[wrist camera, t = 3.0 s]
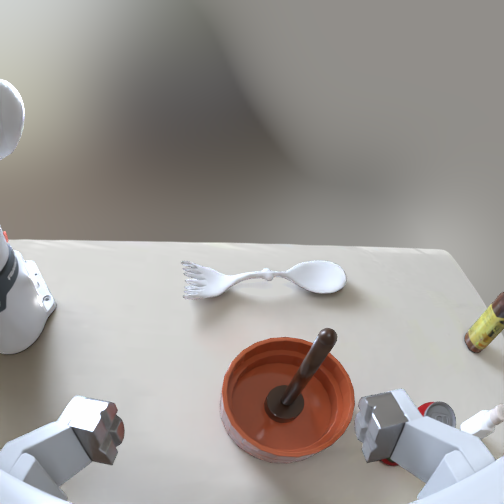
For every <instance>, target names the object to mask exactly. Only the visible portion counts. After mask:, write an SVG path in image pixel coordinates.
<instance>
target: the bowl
mask: <svg viewBox="0 0 504 504" xmlns="http://www.w3.org/2000/svg"><path fill="white" fill-rule="evenodd" d="M312 345H313V343H311V342H308V341H305V340H302V339H296V338H289V337H280V338H270V339H266V340H263V341H260V342H257V343H254V344H253V345H251V346H249V347H248V348H246V349H244V350H243V351H242V352H241V353H240V354H239V355H238V356H237V357H236V358H235V359H234V360H233V361H232V362H231V364H230V366H229V368H228V370H227V372H226V374H225V376H224V382H223V387H222V393H221V400H220V411H221V419H222V422H223V424H224V426H225V429H226V431H227V433H228V435H229V436H230V437H231V438H232V440H233V441H234V442H235V443H236V444H237V445H238V447H240V448H241V449H243V450H244V451H246V452H247V453H249V454H250V455H252V456H253V457H256V458H259V459H262V460H265V461H268V462H274V463H292V462H297V461H302V460H305V459H307V458H309V457H311V456H313V455H315V454H317V453H319V452H320V451H322V450H324V449H326V448H327V447H329V446H331V445H332V444H333V443H334V442H335V441H336V440H338V439H339V438H340V437H341V436H342V435H343V434H344V432H345V430H346V429H347V427H348V425H349V423H350V421H351V419H352V415H353V411H354V406H355V401H354V389H353V386H352V383H351V380H350V378H349V376H348V374H347V372H346V371H345V369H344V368H343V366H342V365H341V363H340V362H339V361H338V360H337V359H336V358H335V357H334V356H333V355H331V354H330V353H329V354H328V355H327V357H326V358H325V360H324V361H323V363H322V364H321V365H320V367H319V368H318V370H317V371H316V373H315V374H314V375H313V377H312V378H311V380H310V381H309V382H308V384H307V385H306V386H305V388H304V389H303V390H302V392H301V394H302V396H303V398H304V408H303V410H302V412H301V413H300V414H299V415H298V416H297V417H296V418H295V419H294V420H293V421H290V422H287V423H280V422H276V421H274V420H272V419H271V418H270V417H269V416H268V415H267V414H266V412H265V409H264V402H265V399H266V397H267V396H268V394H269V392H270V391H271V390H272V389H273V388H275V387H277V386H280V385H289V384H290V382H291V380H292V379H293V377H294V375H295V374H296V372H297V370H298V369H299V367H300V365H301V364H302V362H303V360H304V359H305V357H306V355H307V354H308V352H309V350H310V348H311V347H312Z"/></svg>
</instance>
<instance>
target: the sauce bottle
mask: <svg viewBox="0 0 504 504" xmlns="http://www.w3.org/2000/svg"><path fill="white" fill-rule="evenodd" d="M503 329H504V292H503V293H501V294H500V295H499V296H498V297H497V298H496V299H495V301H494V302H492V304H491V305H490V306H489V307H488V308H487V310H486V311H485V312H484V313H483V314H482V315H481V317H480V318H479V319H478V320H477V321H476V322H475V323H474V325H473V326H472V327H471V328H470V329H469V331H468V332H467V333H466V335H465V342H466V344H467V346H468V348H469V349H470V350H471V351H473V352H476V353H478V352H480V351H482V350H483V349H484V348H485V347H486V346H488V345H489V344H490V343H491V342H492V340H493V339H494V338H495V337H496V336H497V335H498V334H499V333H500V332H501V331H502V330H503Z"/></svg>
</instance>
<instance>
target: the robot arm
mask: <svg viewBox="0 0 504 504" xmlns="http://www.w3.org/2000/svg"><path fill="white" fill-rule="evenodd" d="M23 126H24V107H23V102H22V99H21V97H20V95H19V93H18V91H17V90H16V89H15V88H14V86H12V85H11V84H10V83H8V82H7V81H4V80H2V79H0V160H1V159H3V158H4V157H6V156H8V155H9V154H11V153H12V152H13V151H14V149H15V148H16V146H17V144H18V142H19V140H20V137H21V134H22V131H23ZM55 308H56V302H55V300H54V299H53V297H52V295H51V293H50V291H49V289H48V288H47V286H46V284H45V282H44V280H43V278H42V276H41V274H40V272H39V270H38V268H37V266H36V264H35V262H34V261H24V260H23V257H22V255H21V253H20V252H18V251H13V249H12V248H11V247H10V245H9V244H8V237H7V234H6V232H2V229H1V226H0V353H3V354H15V353H18V352H21V351H23V350H25V349H26V348H28V347H29V346H30V345H32V344H33V343H34V342H35V341H36V339H37V338H38V337H39V335H40V334H41V332H42V330H43V328H44V325H45V323H46V320H47V318H48V317H49V315H50V314H51V313H52V312H53V311H54V309H55ZM358 407H359V409H360V411H359V412H358V413H357V414H356V417H355V422H354V424H355V433H356V436H357V439H358V440H359V441H361V442H362V443H363V446H362V452H363V454H364V457H365V459H366V462H367V463H369V462H373V461H378V460H382V459H386V458H390V457H391V458H390V459H392V460H393V461H394V462H396V463H397V464H399V465H400V466H401V467H403V468H404V469H406V470H407V471H409V472H410V473H412V474H413V475H414V476H416V477H417V478H419V479H420V480H422V481H423V482H425V483H426V485H425V486H424V487H423V489H422V490H421V491H420V493H419V494H418V496H417V498H418V500H417V501H414V502H411V503H409V504H504V456H502V457H501V458H499V459H498V460H496V459H495V458H494V457H493V455H492V454H491V453H490V451H489V450H488V448H487V447H486V446H485V444H484V443H483V442H482V440H481V439H480V438H479V437H476V436H474V435H471V434H469V433H466V432H464V431H461V430H459V429H456V428H454V427H451V426H449V425H447V424H444V423H442V422H440V421H437V420H435V419H433V418H430V417H428V416H425V417H423V416H422V414H421V413H420V412H419V410H418V409H417V407H416V406H415V404H414V403H413V401H412V400H411V399H410V397H409V396H408V394H407V393H406V391H405V390H404V389H402V388H401V389H397V390H393V391H389V392H384V393H380V394H375V395H370V396H365V397H361V399H360V400H359V404H358ZM117 411H118V410H117V408H116V405H115V403H112V402H109V401H103V400H98V399H93V398H87V397H82V396H78V395H77V396H75V397H73V399H72V400H71V401H70V403H69V404H68V406H67V407H66V409H65V410H64V411H63V413H62V414H61V416H60V417H59V419H58V420H57V422H51V423H49V424H47V425H45V426H43V427H40V428H38V429H36V430H34V431H32V432H30V433H27V434H25V435H23V436H21V437H19V438H16V439H14V440H12V441H10V442H7V443H6V444H5V446H4V447H3V449H2V450H1V451H0V504H73V503H70V502H68V501H67V499H68V498H67V496H66V494H65V493H64V492H63V491H62V490H61V489H60V488H59V486H61V485H62V484H63V483H65V482H66V481H67V480H69V479H70V478H71V477H73V476H74V475H75V474H77V473H78V472H79V471H81V470H82V469H83V468H85V467H86V466H87V465H89V464H90V463H91V462H92V461H95V462H99V463H104V464H108V465H113V463H114V460H115V458H116V456H117V453H118V451H117V449H116V447H117V446H118V445H120V444H121V443H122V441H123V438H124V431H125V430H124V424H123V422H122V419H121V418H119V417H118V416H117V415H116V413H117Z"/></svg>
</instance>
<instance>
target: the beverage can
mask: <svg viewBox="0 0 504 504" xmlns="http://www.w3.org/2000/svg"><path fill="white" fill-rule="evenodd" d="M417 409H418V410H419V412H420V413H421V414H422V416H423V417H425V416H428V417H430V418H433V419H435V420H437V421H440V422H442V423H444V424H447V425H449V426H451V427H454V428H455V426H456V417H455V414H454V412H453V410H452V408H451V407H450V406H449V405H448V404H446V403H444V402H429V403H425V404H423V405H421V406H420V407H418V408H417ZM390 458H391V457H390ZM390 458H386V459H382V461H383V462H384V463H386V464H388V465H392V466H396V465H399V464H397V463H396V462H394V461H393V460H392V459H390Z"/></svg>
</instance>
